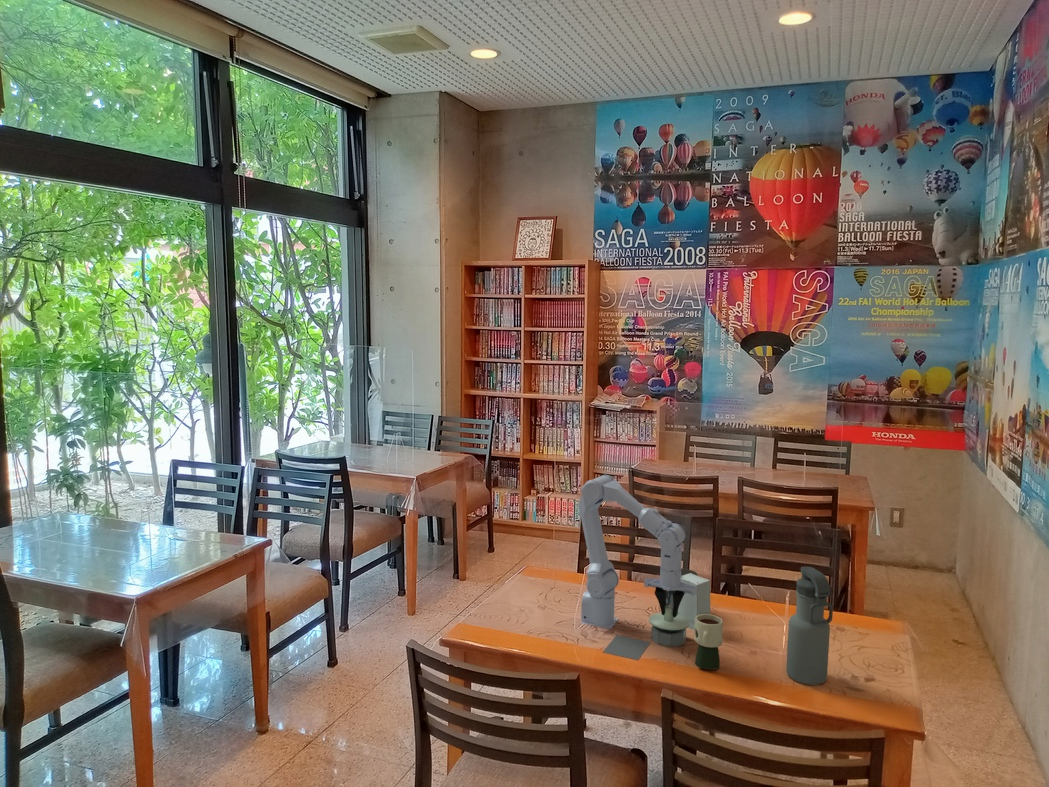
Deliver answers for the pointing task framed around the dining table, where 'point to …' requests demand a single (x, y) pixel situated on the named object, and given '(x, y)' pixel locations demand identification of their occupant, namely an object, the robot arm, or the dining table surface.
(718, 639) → the character mug
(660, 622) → the lid
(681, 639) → the bowl
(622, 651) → the mat
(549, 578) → the dining table surface
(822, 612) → the water bottle
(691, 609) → the skincare box
